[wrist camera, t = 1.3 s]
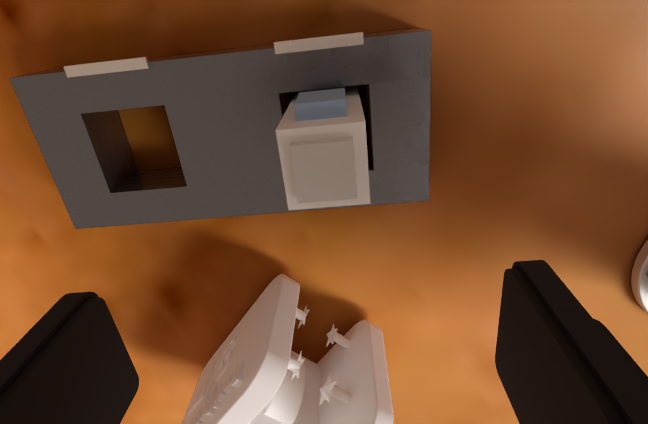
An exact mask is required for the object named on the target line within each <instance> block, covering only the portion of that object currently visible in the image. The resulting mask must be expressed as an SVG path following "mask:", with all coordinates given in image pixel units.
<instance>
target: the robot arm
mask: <svg viewBox="0 0 648 424" xmlns="http://www.w3.org/2000/svg"><path fill="white" fill-rule="evenodd" d="M631 285H632V291H633V294H634V296H635V298H636V300H637V302H638V303H639V304H640V306H641V307H642V308H643V309H644V310H645V311H646V312H647V313H648V240H647V241H646V242H645V244H644V245H643V247H642V249H641V250H640V252H639V254H638V255H637V257H636V260H635V263H634V266H633V269H632V277H631ZM495 363H496V368H497V372H498V375H499V377H500V379H501V382H502V384H503V386H504V389H505V391H506V393H507V396H508V398H509V400H510V402H511V405H512V407H513V409H514V412H515V414H516V416H517V418H518V421H519V423H520V424H648V377H647V375H646V374H645V373H644V372H643V371H642V369H641V368H640V367H639V366H638V365H637V364H636V362H635V361H634V360H633V359H632V358H631V356H630V355H629V354H628V353H627V352H626V350H625V349H624V348H623V347H622V346H621V345H620V343H619V342H618V341H617V340H616V339H615V337H614V336H613V335H612V334H611V333H610V331H609V330H608V329H607V328H606V327H605V326H604V325H603V324H602V323H601V322H600V321H598V320H595V319H593V318H592V317H591V316H590V315H589V313H588V312H587V311H586V310H585V309H584V307H583V306H582V305H581V304H580V303H579V301H578V300H577V299H576V298H575V296H574V295H573V294H572V293H571V292H570V290H569V289H568V288H567V287H566V285H565V284H564V283H563V282H562V281H561V279H560V278H559V277H558V276H557V275H556V273H555V272H554V271H553V270H552V268H551V267H550V266H549V265H548V264H547V263H546V262H545V261H544V260H532V261H518V262H515V263H514V264H513V266H512V269H506V270H505V273H504V280H503V289H502V298H501V308H500V317H499V326H498V336H497V345H496V354H495ZM138 386H139V377H138V374H137V372H136V370H135V368H134V365H133V363H132V361H131V359H130V356H129V354H128V352H127V350H126V347H125V345H124V343H123V341H122V338H121V336H120V334H119V332H118V330H117V327H116V325H115V323H114V321H113V318H112V316H111V314H110V312H109V309H108V307H107V305H106V303H105V301H104V299H102V298H100V297H98V295H97V294H95V293H94V292H81V293H69V294H65V295H64V296H63V297H62V298H61V299H60V300H59V301H58V302H57V303H56V304H55V305H54V306H53V307H52V308H51V309H50V310H49V311H48V312H47V313H46V314H45V315H44V316H43V317H42V318H41V319H40V320H39V321H38V322H37V323H36V324H35V325H34V326H33V327H32V328H31V329H30V330H29V331H28V332H27V333H26V334H25V336H24V337H23V338H22V339H21V340H20V341H19V342H18V343H17V344H16V345H15V346H14V347H13V348H12V349H11V350H10V351H9V352H8V353H7V354H6V355H5V356H4V357H3V358H2V359H1V360H0V424H120V422H121V420H122V419H123V417H124V415H125V413H126V411H127V409H128V407H129V405H130V404H131V402H132V400H133V398H134V396H135V394H136V392H137V390H138Z"/></svg>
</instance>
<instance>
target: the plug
mask: <svg viewBox="0 0 648 424" xmlns="http://www.w3.org/2000/svg"><path fill="white" fill-rule="evenodd" d="M276 137H277V143H278V149H279V155H280V161H281V167H282V173H283V179H284V186H285V192H286V198H287V204H288V210H299V209H312V208H324V207H337V206H349V205H362V204H370V188H369V172H368V155H367V139H366V122H365V117H364V113H363V109H362V105H361V100H360V96H359V92H358V88H357V85H353V86H343V87H334V88H324V89H314V90H305V91H296V93H295V95H294V97H293V99H292V101H291V102H290V104H289V106H288V108H287V110H286V112H285V114H284V115H283V117H282V119H281V121H280V123H279V125H278V127H277V128H276Z"/></svg>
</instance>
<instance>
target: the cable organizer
mask: <svg viewBox="0 0 648 424" xmlns="http://www.w3.org/2000/svg"><path fill="white" fill-rule="evenodd" d="M299 292H300V284H299V283H298V282H296V281H294V280H293V279H291V278H289V277H287V276H286V275H284V274H280V275H278V276H277V277H275V278H274V279H273V280H272V281H271V283H270V284H269V285H268V286H267V287H266V289H265V290H264V291H263V293H262V294H261V295H260V296H259V298H258V299H257V300H256V301H255V303H254V304H253V305H252V306H251V308H250V309H249V310H248V312H247V313H246V314H245V315H244V317H243V318H242V319H241V320H240V322H239V323H238V324H237V326H236V327H235V328H234V329H233V331H232V332H231V333H230V334H229V336H228V337H227V338H226V339H225V341H224V342H223V343H222V345H221V346H220V347H219V348H218V350H217V351H216V352H215V353H214V355H213V356H212V357H211V359H210V360H209V362H208V363H207V365H206V366H205V368H204V370H203V372H202V373H201V375H200V378H199V380H198V382H197V385H196V388H195V390H194V393H193V395H192V398H191V401H190V403H189V406H188V408H187V411H186V414H185V416H184V419H183V421H182V424H393V409H392V401H391V394H390V386H389V378H388V371H387V363H386V355H385V348H384V340H383V333H382V330H381V328H379V327H378V326H376V325H374V324H373V323H371V322H369V321H367V320H362V321H360V322H358V323H357V324H355V325H354V326H353V327H352V328H351V329H350V330H349V331H348V332H347V333H346V334H345V335H344V336H342V335H341V334H339V333H337V332H336V331H337V329H338V328H337V329H334V323H333V326H332V328H331V331H330V332H329V333H327V337H328V342H327V346H328V344H329V343H330V342H331V343H332V344H333V342H336V344H335V345H334V346H333V347H332V348H331V349H330V351H329V352H328V353H327V354H326V355H325V356H324V357H323V358H322V359H321V360H320V361H319V362H318V363H317V364H316V363H314V362H312V361H310V360H309V359H307V358H305V357H303V356H301V353H300V355H299V354H297V353H295V352H293V351H291V347H292V340H293V333H294V326H295V319H296V318H297V319H298V320H300V323H299V326H298V328H299V327H300V325H301V324H303V325H305V319H306V316H307V314H308V312H309V310H310V309H309V310H307V305H306V307H305V310H304V312H303V311H302V310H300V309H298V308H297V305H298V299H299ZM327 346H326V347H327ZM301 351H302V350H301Z"/></svg>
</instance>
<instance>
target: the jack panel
mask: <svg viewBox="0 0 648 424" xmlns="http://www.w3.org/2000/svg"><path fill="white" fill-rule="evenodd" d="M63 67H64V68H59V69H52V70H47V71H42V72H37V73H32V74H27V75H22V76H17V77H12V78H9V79H10V81H11V83H12V85H13V88H14V90H15V92H16V95H17V97H18V99H19V101H20V104H21V106H22V108H23V111H24V113H25V115H26V117H27V120H28V122H29V124H30V127H31V129H32V131H33V133H34V136H35V138H36V140H37V143H38V145H39V147H40V149H41V152H42V154H43V156H44V159H45V161H46V163H47V165H48V168H49V170H50V172H51V174H52V177H53V179H54V181H55V184H56V186H57V188H58V190H59V193H60V195H61V197H62V200H63V202H64V204H65V206H66V209H67V211H68V213H69V216H70V218H71V220H72V222H73V225H74V227H75V229H82V228H94V227H107V226H119V225H132V224H144V223H157V222H169V221H182V220H194V219H207V218H219V217H232V216H244V215H257V214H269V213H282V212H294V211H307V210H319V209H332V208H345V207H357V206H370V205H382V204H395V203H407V202H420V201H429V170H430V86H431V30H427V29H422V28H410V29H401V30H392V31H384V32H375V33H366V34H363V32H357V33H349V34H340V35H331V36H322V37H314V38H305V39H296V40H287V41H279V42H274V44H270V45H261V46H252V47H243V48H235V49H226V50H217V51H208V52H200V53H191V54H182V55H173V56H164V57H156V58H148V57H139V58H130V59H121V60H113V61H104V62H95V63H86V64H78V65H69V66H63ZM363 84H366V95H367V112H368V129H369V147H370V150H367V155H368V172H369V188H370V204H362V205H349V206H337V207H324V208H312V209H299V210H288V204H287V198H286V192H285V186H284V179H283V173H282V167H281V161H280V155H279V149H278V143H277V137H276V128H277V127H278V125H279V123H280V121H281V119H282V117H283V115H284V114H285V112H286V110H287V108H288V106H289V104H290V102H289V95H288V92H295V91H305V90H314V89H324V88H334V87H343V86H353V85H363ZM161 105H164V106H165V109H166V113H167V116H168V120H169V124H170V127H171V131H172V134H173V138H174V141H175V145H176V149H177V152H178V156H179V159H180V163H181V166H182V167H180V168H169V169H158V170H147V171H138V170H137V167H136V164H135V161H134V158H133V155H132V152H131V149H130V146H129V143H128V140H127V137H126V134H125V131H124V128H123V125H122V122H121V119H120V116H119V113H118V110H122V109H132V108H141V107H151V106H161Z"/></svg>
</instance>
